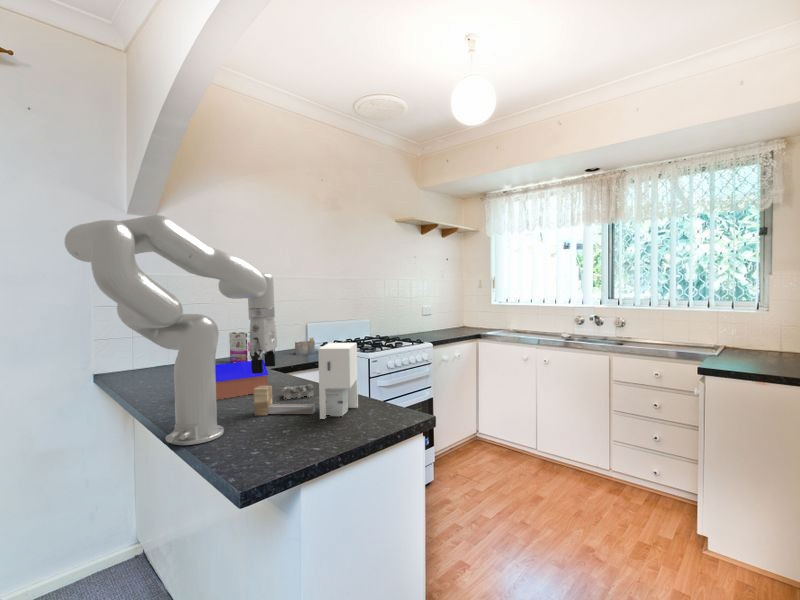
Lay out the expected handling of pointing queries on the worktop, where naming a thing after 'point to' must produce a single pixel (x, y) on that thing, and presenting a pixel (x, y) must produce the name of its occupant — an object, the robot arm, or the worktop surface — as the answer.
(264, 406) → the push stick
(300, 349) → the ruin model on sheet
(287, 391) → the egg carton
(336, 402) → the skincare box
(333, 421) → the worktop surface
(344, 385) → the cabinet
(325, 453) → the worktop surface
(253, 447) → the worktop surface
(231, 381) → the house
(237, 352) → the candy bar box
